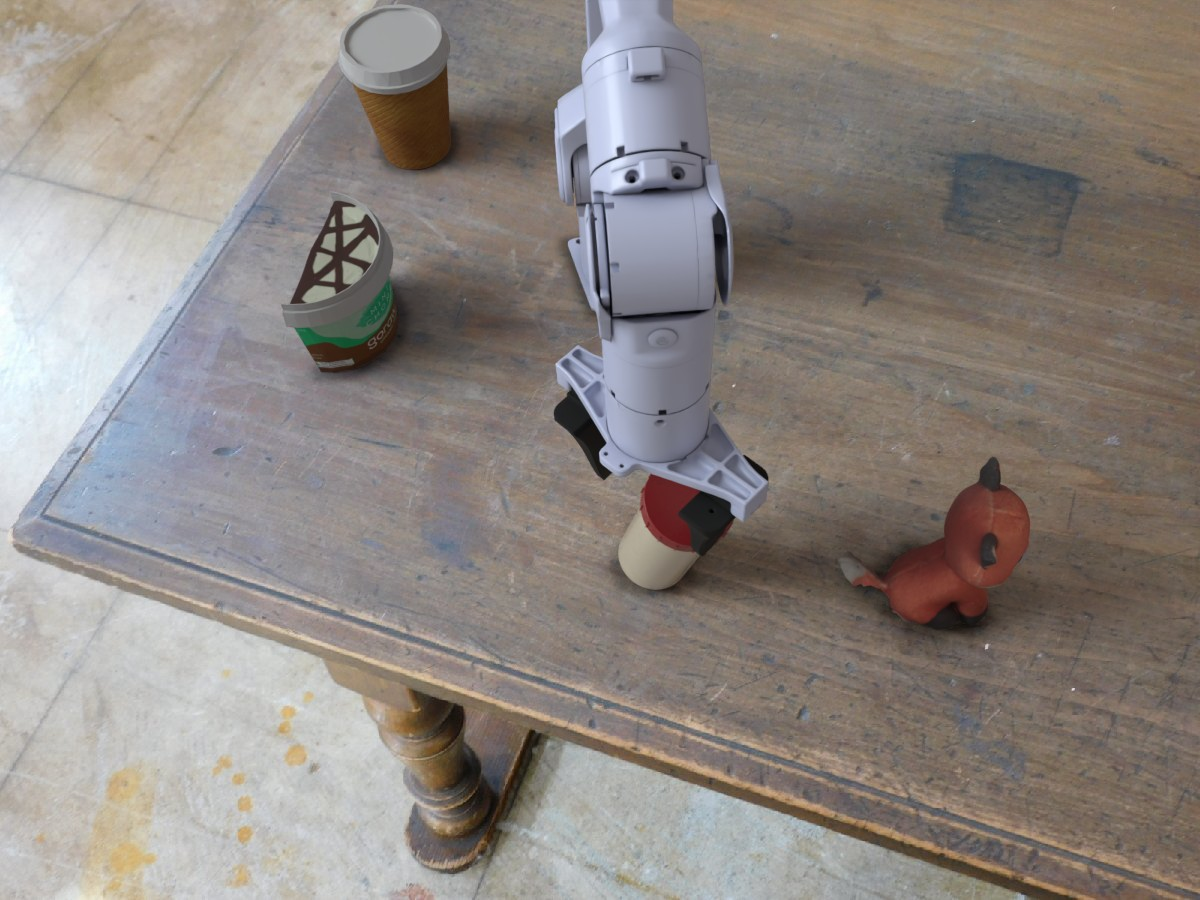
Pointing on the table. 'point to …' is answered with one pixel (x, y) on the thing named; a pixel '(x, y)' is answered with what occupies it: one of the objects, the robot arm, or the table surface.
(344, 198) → the food container
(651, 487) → the lid
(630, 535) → the jar
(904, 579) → the stuffed fox
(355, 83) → the disposable coffee cup
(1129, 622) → the table surface
